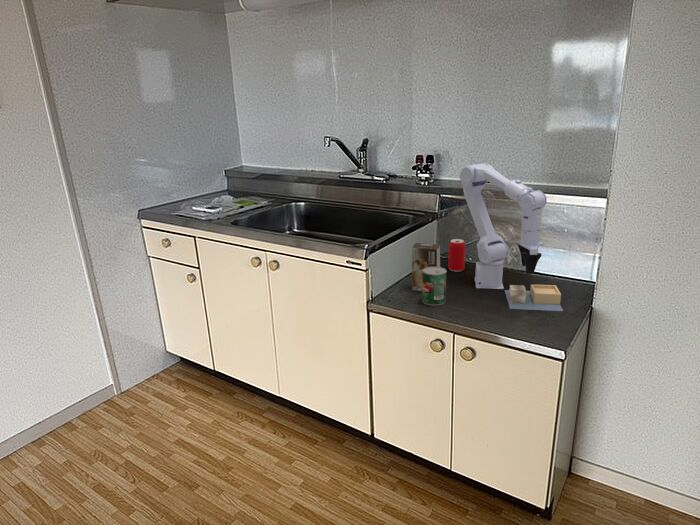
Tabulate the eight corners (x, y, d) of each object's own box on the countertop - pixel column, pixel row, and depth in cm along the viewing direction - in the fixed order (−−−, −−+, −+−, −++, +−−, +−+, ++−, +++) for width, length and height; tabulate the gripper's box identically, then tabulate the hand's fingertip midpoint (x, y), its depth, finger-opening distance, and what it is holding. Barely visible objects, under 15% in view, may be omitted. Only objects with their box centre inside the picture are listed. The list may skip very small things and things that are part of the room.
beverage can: (463, 267, 195) (464, 238, 191) (465, 272, 189) (466, 242, 185) (447, 267, 196) (448, 238, 192) (448, 272, 190) (449, 243, 186)
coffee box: (440, 286, 176) (441, 244, 171) (436, 293, 171) (437, 249, 165) (415, 284, 180) (416, 242, 174) (411, 290, 174) (411, 247, 169)
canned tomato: (417, 301, 164) (417, 270, 161) (431, 294, 170) (431, 264, 166) (436, 307, 159) (437, 276, 155) (450, 300, 164) (451, 269, 161)
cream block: (510, 302, 159) (511, 290, 158) (508, 297, 164) (509, 284, 162) (525, 303, 159) (526, 290, 157) (523, 298, 163) (524, 285, 161)
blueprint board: (509, 310, 155) (510, 298, 154) (504, 291, 170) (505, 280, 169) (563, 312, 152) (564, 300, 151) (552, 293, 167) (554, 282, 166)
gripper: (548, 235, 148) (545, 277, 153) (539, 223, 162) (536, 262, 166) (524, 235, 150) (521, 276, 154) (517, 224, 163) (514, 262, 167)
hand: (527, 269), depth 160 cm, fingers open, 7 cm apart
